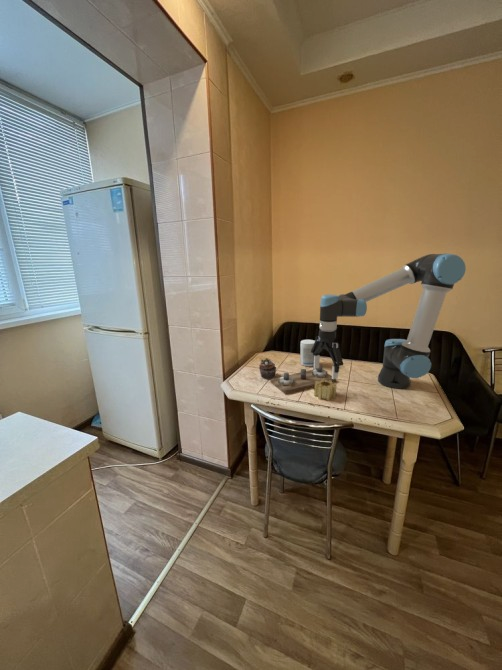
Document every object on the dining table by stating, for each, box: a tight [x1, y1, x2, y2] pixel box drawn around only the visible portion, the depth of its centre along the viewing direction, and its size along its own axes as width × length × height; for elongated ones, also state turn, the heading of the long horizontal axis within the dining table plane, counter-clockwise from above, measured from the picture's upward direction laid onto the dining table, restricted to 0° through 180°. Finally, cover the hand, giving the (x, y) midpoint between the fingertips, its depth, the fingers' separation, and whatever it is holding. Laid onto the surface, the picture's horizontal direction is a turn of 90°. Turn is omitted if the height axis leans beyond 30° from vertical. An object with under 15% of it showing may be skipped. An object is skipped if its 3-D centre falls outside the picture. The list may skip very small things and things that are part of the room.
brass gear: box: [313, 379, 337, 401], centre depth 134 cm, size 10×10×6 cm
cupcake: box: [258, 358, 277, 380], centre depth 158 cm, size 10×10×10 cm
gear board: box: [270, 364, 337, 395], centre depth 149 cm, size 15×31×7 cm, turn 114°
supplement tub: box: [299, 339, 315, 367], centre depth 172 cm, size 10×10×15 cm
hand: (325, 373), depth 132 cm, fingers open, 13 cm apart
